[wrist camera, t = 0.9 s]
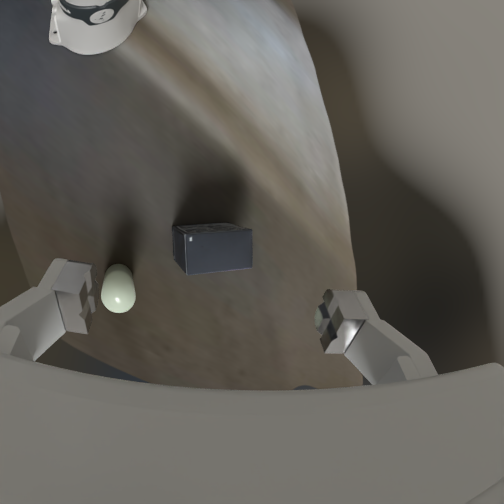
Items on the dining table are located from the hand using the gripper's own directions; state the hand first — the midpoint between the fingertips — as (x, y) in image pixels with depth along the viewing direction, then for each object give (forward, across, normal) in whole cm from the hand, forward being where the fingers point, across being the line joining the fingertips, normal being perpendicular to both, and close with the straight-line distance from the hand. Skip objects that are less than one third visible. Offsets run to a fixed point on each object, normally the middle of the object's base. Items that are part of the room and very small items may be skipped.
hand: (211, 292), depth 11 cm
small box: (+39, -1, +23) cm, 45 cm away
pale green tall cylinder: (+33, +12, +28) cm, 45 cm away
